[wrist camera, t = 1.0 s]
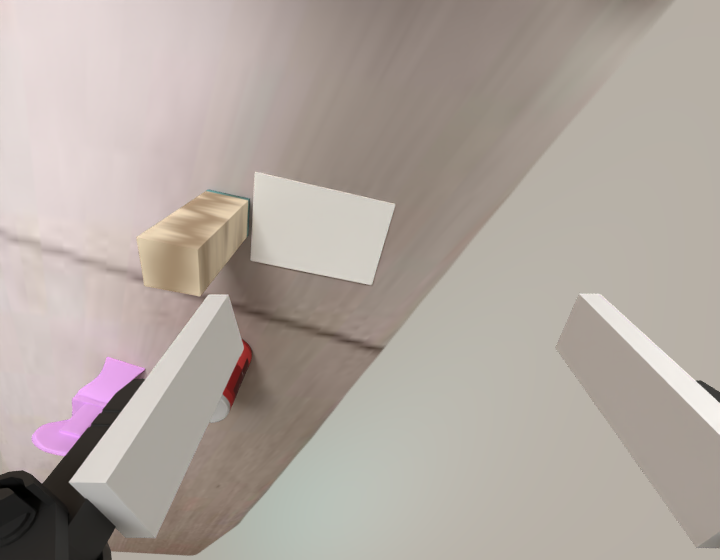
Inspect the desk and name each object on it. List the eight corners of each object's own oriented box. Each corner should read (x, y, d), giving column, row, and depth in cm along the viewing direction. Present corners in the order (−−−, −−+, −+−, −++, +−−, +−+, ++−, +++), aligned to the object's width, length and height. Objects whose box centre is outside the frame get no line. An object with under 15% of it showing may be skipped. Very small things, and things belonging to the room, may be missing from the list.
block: (209, 227, 41) (144, 285, 29) (208, 189, 38) (136, 237, 26) (248, 235, 41) (200, 296, 29) (249, 198, 39) (197, 249, 27)
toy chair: (98, 384, 58) (21, 470, 45) (100, 354, 54) (17, 438, 41) (145, 398, 60) (84, 484, 47) (151, 370, 55) (87, 455, 43)
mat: (251, 259, 43) (250, 260, 43) (255, 171, 37) (254, 172, 36) (371, 283, 45) (371, 285, 44) (395, 203, 39) (395, 204, 38)
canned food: (198, 332, 50) (160, 388, 41) (247, 331, 50) (220, 388, 41) (211, 365, 54) (179, 423, 45) (257, 365, 54) (234, 423, 45)
